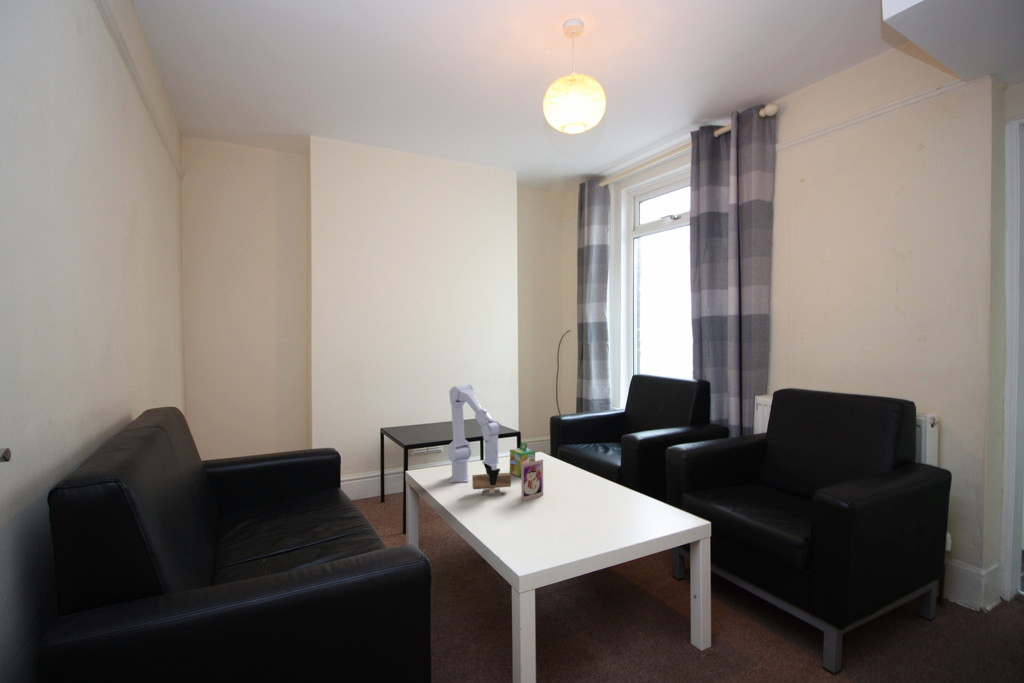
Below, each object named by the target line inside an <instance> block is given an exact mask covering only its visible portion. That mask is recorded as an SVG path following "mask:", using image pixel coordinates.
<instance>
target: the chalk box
mask: <svg viewBox="0 0 1024 683" xmlns="http://www.w3.org/2000/svg"><path fill="white" fill-rule="evenodd" d="M523 446H524V447H523ZM529 457H530V462H534V461H536V450H535V449H534V450H533V449H532V448H531V449H530V448H528V444H527V443H525V442H520V446H519V448H514V449H513V448H512V449H509V473H510V475H511V474H512V475H514V476H516V477H518V478H521V464H522V463H523V462H524V461H526V460H527V459H528V458H529Z"/></svg>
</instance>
